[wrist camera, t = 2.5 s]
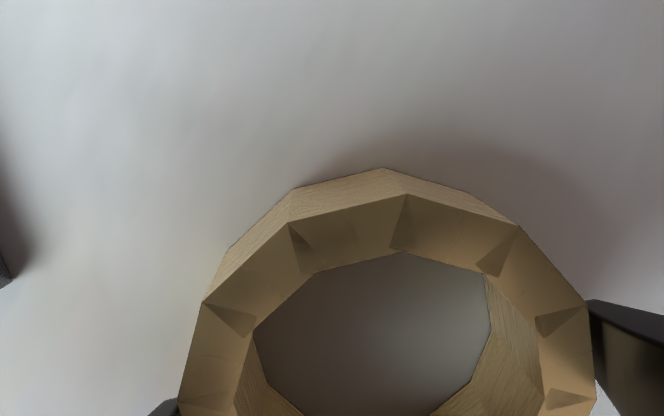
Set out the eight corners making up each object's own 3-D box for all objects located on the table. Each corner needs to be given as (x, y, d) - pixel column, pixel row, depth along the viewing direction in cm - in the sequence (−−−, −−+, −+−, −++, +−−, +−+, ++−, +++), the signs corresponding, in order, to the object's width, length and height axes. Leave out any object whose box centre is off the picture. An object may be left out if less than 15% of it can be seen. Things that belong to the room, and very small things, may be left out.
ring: (544, 423, 11) (607, 511, 9) (261, 489, 11) (249, 595, 9) (506, 137, 9) (572, 153, 7) (169, 218, 9) (123, 261, 7)
